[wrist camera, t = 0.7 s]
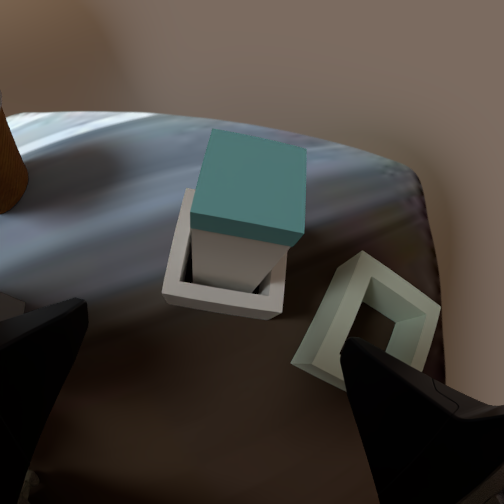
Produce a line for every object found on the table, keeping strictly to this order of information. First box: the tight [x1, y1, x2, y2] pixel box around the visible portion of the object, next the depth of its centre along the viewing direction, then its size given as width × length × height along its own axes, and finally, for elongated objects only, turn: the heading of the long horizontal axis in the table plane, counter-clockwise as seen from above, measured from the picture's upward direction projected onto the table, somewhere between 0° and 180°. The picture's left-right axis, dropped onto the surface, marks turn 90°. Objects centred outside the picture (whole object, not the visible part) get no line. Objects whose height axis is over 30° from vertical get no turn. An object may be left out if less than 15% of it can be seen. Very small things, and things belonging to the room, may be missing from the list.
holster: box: [162, 188, 287, 320], centre depth 22 cm, size 8×8×4 cm
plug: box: [190, 129, 306, 293], centre depth 18 cm, size 5×5×12 cm
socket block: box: [291, 250, 441, 391], centre depth 21 cm, size 10×10×4 cm
